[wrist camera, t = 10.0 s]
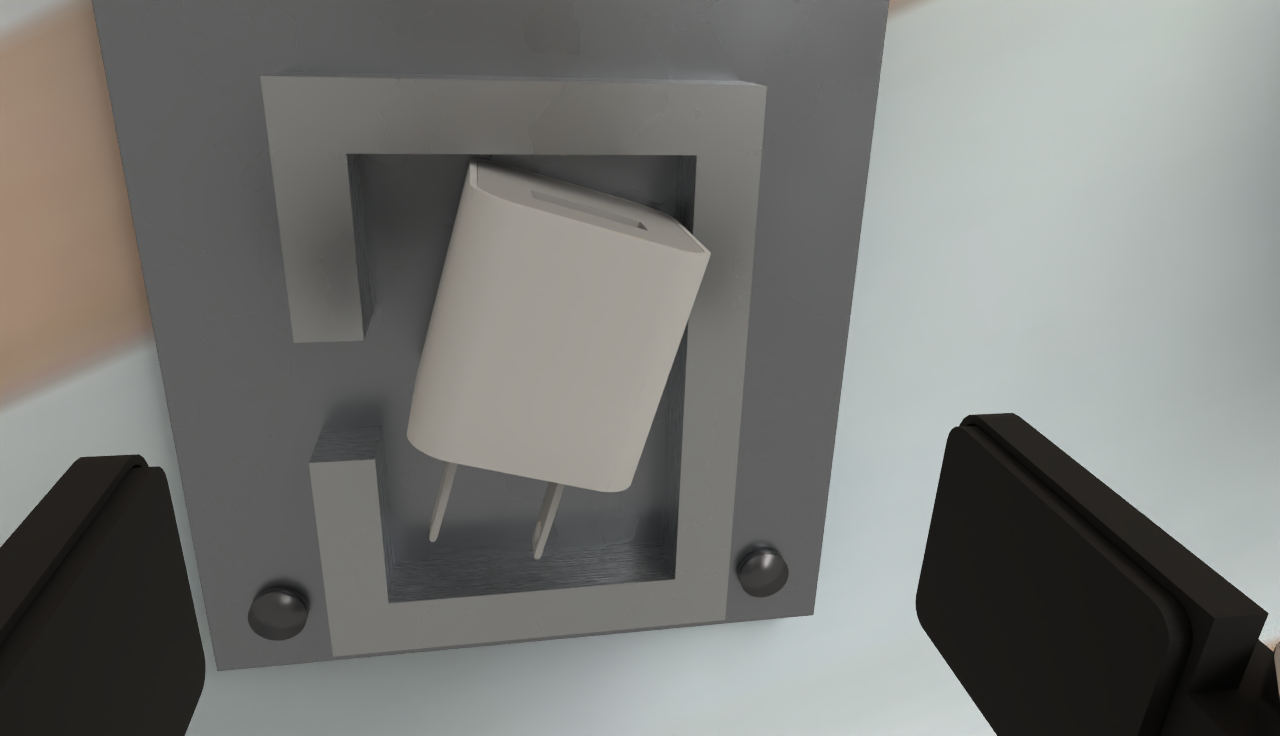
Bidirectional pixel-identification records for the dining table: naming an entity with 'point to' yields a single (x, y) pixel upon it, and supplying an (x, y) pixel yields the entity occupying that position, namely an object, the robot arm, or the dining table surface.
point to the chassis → (408, 283)
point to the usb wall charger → (551, 334)
